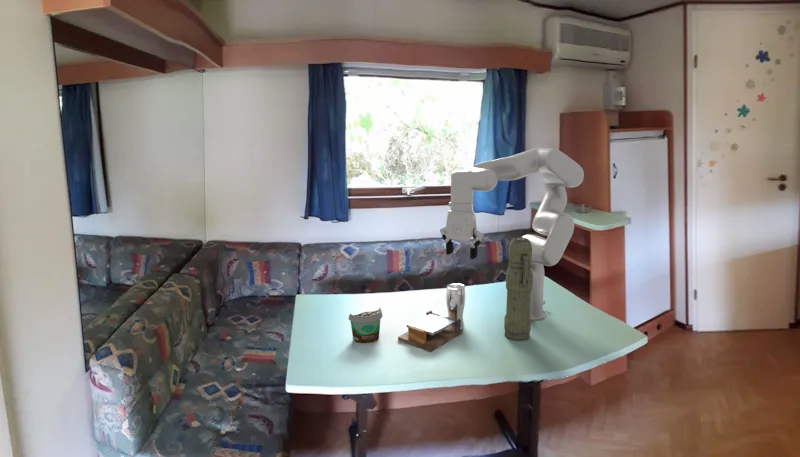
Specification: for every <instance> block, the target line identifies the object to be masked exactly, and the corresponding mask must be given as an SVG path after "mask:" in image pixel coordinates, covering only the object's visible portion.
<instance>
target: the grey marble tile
mask: <svg viewBox="0 0 800 457" xmlns="http://www.w3.org/2000/svg"><path fill="white" fill-rule="evenodd" d="M455 321H456V320H455V319H452V318H448V317H447V316H444V315H441V314H439V313H434V312H432V313H431V314H429V315H427V316H426V315H425V316H422V317H420V318H418V319H416V320H413V321H411V322H409V323H407V324H406V328H408V327H409V326H414V327H418V328H421V329H424V330H426V333H427V334H430V335H434V334H436V333H438V332H440V331H442V330H444V329H446V328H448V327H450V326H452V325H454V324H455Z"/></svg>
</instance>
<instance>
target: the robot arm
mask: <svg viewBox="0 0 800 457" xmlns="http://www.w3.org/2000/svg"><path fill="white" fill-rule="evenodd" d="M536 173H541V179H542V181H543V185H544V191H545V192H544V197H543V199H542V201H541V203H540V205H539V208H538V210H537V211H536V213H535V215H534V218H533V220H532V225H531V226H532V229H533V230H534V231H535V232H536V233H539V234H540V235H543V236H547V238H545V237H542V236H539V235H535V234H525V235H523V236H522V237H524V238H528V239H529V240H530V242H531V245H532V262H531V270H532V273H533V283H532V290H531V295H530V318H531V322H538V321H539V322H540V321H544V320H545V319H547V312H546V311H545V310H544V305H546V300H544V292H545V291H544V290H545V289H544V287H545V268H544V266H546V267H552V266H555V265H557V264H558V263H559V261H560V260H561V259H562V257H563V255H564V253H565V250H566V248H567V247H568V244H569V242H570V240H571V238H572V236H573V234H574V230H575V222H574V219H573V217H572V216H571V215H570V214H569V213H566V212H564V211H565V210H566V209H565V208H566V206H567V202H568V195H567V191H566V188H576V187H579V186H580V185H581V184H582V183H583V181H584V177H585V174H584V173H585V172H584V169H583V167H581V165H580V164H579V163H577V162H576V161H575V160H574V159H572V158H571V157H569V155H567V154H566V153H564V152H563V151H561V150H559V149H556V148H551V147H550V148H548V147H547V148H545V147H535V148H532V149H528V150H526V151H522V152H520V153H519V152H518V153H516V154H513V155H511V156H506V157H501V158H497V159H491V160H487V161H482V162H479V163H476V164H474V165H473V164H472V165H470V166H468V167H466V168H464V169H457V170H456V169H455V170H453V171H452V172H451V174H450V175H451V176H450V202H448V203H447V204H448V207H449V208H450V210H448V212H447V216H446V224H445V227H443V228H440V229H439V232H440V235H441V238H442V239H443V241H444V243H445V251H446V255H448V256H449V255H451V254H454V242H453V241H456V242H462V243H469V245H470V246H471V247H470V248H469V259H470V260H474V259H476V258H477V256H478V247H479V246H480V245H481V244H482V243H483V241H484V239H485V234H483V233H482V232H480V231H479V230H478V228H477V218H476V213H475V211H474V192H490V191H492V190H494V188H496V186H497V184H498V181H500V182H501V181H503V182H504V181H505V182H507V181H510V182H511V181H516V180H520V179H523V178H525V177H527V176H531V175H534V174H536ZM477 237H478V238H477Z"/></svg>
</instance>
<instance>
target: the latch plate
mask: <svg viewBox="0 0 800 457" xmlns="http://www.w3.org/2000/svg"><path fill="white" fill-rule="evenodd" d="M431 313H433V311H432V310H429V311H426V314H425V316H427V315H429V314H431ZM407 328H408V329H407V331H406V332H404V333H402V334H400V335H399V336H397V342H400V343H404V344H406V345H408V346H412V347H413V348H414V347H415V348H418V349H420V350H424V351H426V352H428V353H429V352H430V353H432V352H434V351H435V350H437V349H439V348H441V347H442V346H444V345H446V344H447V343H448V342H451V341H452V340H454V339H455V338H457V337H460V336H461V335H462V334H463V332H464V331H463V329H462V327H461V319H458V320H456V321H455V327H453V326H450V327H448V328H446V329H444V330H442V331H440V332H438V333H436V334H434V335H430V334H427V333H426V330H424V329H421V328H418V327H414V326H409V327H407Z"/></svg>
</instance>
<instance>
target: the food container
mask: <svg viewBox="0 0 800 457" xmlns="http://www.w3.org/2000/svg"><path fill="white" fill-rule="evenodd" d="M383 316H384V315H383V312H382V309H381V307H379V309H377V310H373V311H364V312H360V313H358V314H351V313H349V314H348V321H350V326H351V334H352V340H353V342H355V343H359V344H372V343H375V342H377V341H379V339H380V330H381V319H382V318H383Z"/></svg>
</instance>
